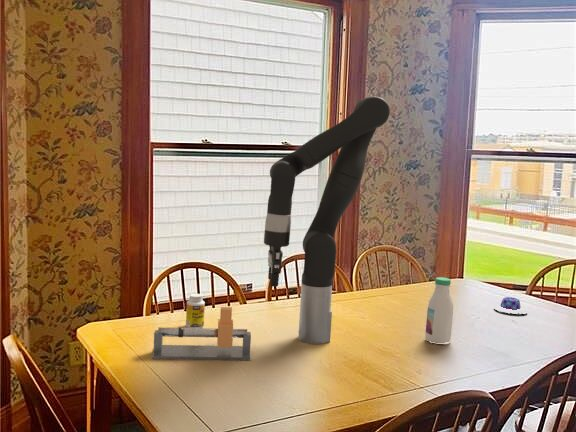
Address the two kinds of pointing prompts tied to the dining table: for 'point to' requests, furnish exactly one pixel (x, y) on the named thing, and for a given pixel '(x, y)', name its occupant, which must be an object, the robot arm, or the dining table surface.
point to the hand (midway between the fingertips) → (272, 282)
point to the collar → (225, 328)
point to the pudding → (510, 303)
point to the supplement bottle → (195, 311)
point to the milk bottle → (440, 313)
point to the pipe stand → (196, 350)
